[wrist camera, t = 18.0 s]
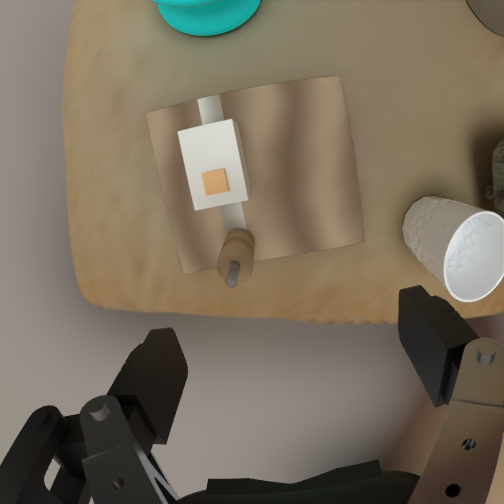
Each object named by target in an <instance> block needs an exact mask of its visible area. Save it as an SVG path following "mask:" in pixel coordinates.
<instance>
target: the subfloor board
mask: <svg viewBox="0 0 504 504" xmlns="http://www.w3.org/2000/svg"><path fill="white" fill-rule="evenodd" d="M146 117H147V122H148V127H149V132H150V137H151V142H152V146H153V151H154V156H155V160H156V165H157V169H158V174H159V178H160V182H161V187H162V191H163V195H164V199H165V203H166V207H167V211H168V215H169V219H170V223H171V227H172V231H173V235H174V239H175V242H176V246H177V250H178V253H179V257H180V261H181V264H182V268H183V271H184V273H189V272H195V271H201V270H207V269H213V268H217V260H218V257H219V254H220V251H221V249H222V246H223V243H224V241H225V238H226V236H227V234H228V233H229V232H230V231H231V230H233V229H235V228H244V229H246V230H248V231H249V232H250V233H251V234H252V235H253V237H254V240H255V246H254V261H260V260H266V259H272V258H278V257H284V256H289V255H295V254H301V253H307V252H312V251H318V250H324V249H329V248H335V247H341V246H346V245H352V244H357V243H363V242H364V231H363V220H362V210H361V201H360V192H359V184H358V177H357V169H356V162H355V156H354V149H353V143H352V137H351V131H350V125H349V119H348V114H347V109H346V104H345V99H344V94H343V89H342V84H341V80H340V76H335V77H324V78H314V79H305V80H297V81H290V82H283V83H276V84H270V85H264V86H258V87H252V88H247V89H242V90H237V91H232V92H227V93H222V94H218V95H213V96H209V97H205V98H201V99H197V100H193V101H189V102H185V103H181V104H177V105H174V106H170V107H167V108H163V109H160V110H156V111H153V112H150V113H147V114H146ZM229 119H233V120H234V121H235V122H236V123H237V124H238V127H239V132H240V137H241V142H242V146H243V151H244V156H245V161H246V166H247V171H248V176H249V182H250V187H251V191H250V195H249V200H247V201H242V202H236V203H231V204H226V205H221V206H216V207H211V208H206V209H201V210H196V211H195V209H194V205H193V200H192V196H191V192H190V187H189V183H188V178H187V174H186V169H185V165H184V160H183V156H182V151H181V146H180V142H179V137H178V131H181V130H185V129H189V128H193V127H198V126H202V125H206V124H210V123H215V122H219V121H224V120H229ZM254 261H253V262H254Z"/></svg>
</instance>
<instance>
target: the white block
mask: <svg viewBox="0 0 504 504" xmlns="http://www.w3.org/2000/svg"><path fill="white" fill-rule="evenodd" d="M178 137H179V142H180V146H181V151H182V156H183V160H184V165H185V169H186V174H187V178H188V183H189V187H190V192H191V196H192V200H193V205H194V209H195V211H196V210H201V209H206V208H211V207H216V206H221V205H226V204H231V203H236V202H242V201H247V200H249V195H250V191H251V187H250V182H249V176H248V171H247V166H246V161H245V156H244V151H243V146H242V142H241V137H240V132H239V127H238V124H237V123H236V122H235V121H234V120H233V119H229V120H224V121H219V122H215V123H210V124H206V125H202V126H198V127H193V128H189V129H185V130H181V131H178Z"/></svg>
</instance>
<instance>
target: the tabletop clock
mask: <svg viewBox="0 0 504 504" xmlns="http://www.w3.org/2000/svg"><path fill="white" fill-rule="evenodd" d="M492 173H493V186H492V185H490V186H487V187H486V188H485V191H484V192H485V196H486V197H487V198H488V199H494V206H495V213H496V214H498V215H499V216H501V217H502V218H503V219H504V138H503V139H502V140H500V141H499V143H498V144H497V146H496V148H495V150H494V151H493V158H492Z"/></svg>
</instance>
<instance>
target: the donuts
mask: <svg viewBox="0 0 504 504" xmlns="http://www.w3.org/2000/svg"><path fill="white" fill-rule="evenodd" d="M151 1H153V2H155V3H157V4H158V9H159V12H160V14H161V16H162V17H163V19H164V20H165V21H166V22H167V23H168V24H169V25H170V26H171V27H173V28H174V29H176V30H178V31H180V32H183V33H186V34H190V35H196V36H211V35H217V34H222V33H225V32H228V31H230V30H233V29H235V28H237V27H238V26H240V25H242V24H243V23H244V22H246V21H247V20H248V19H249V18H250V17H251V16H252V15H253V14H254V12H255V11H256V10H257V8H258V6H259V4H260V2H261V0H151Z"/></svg>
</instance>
